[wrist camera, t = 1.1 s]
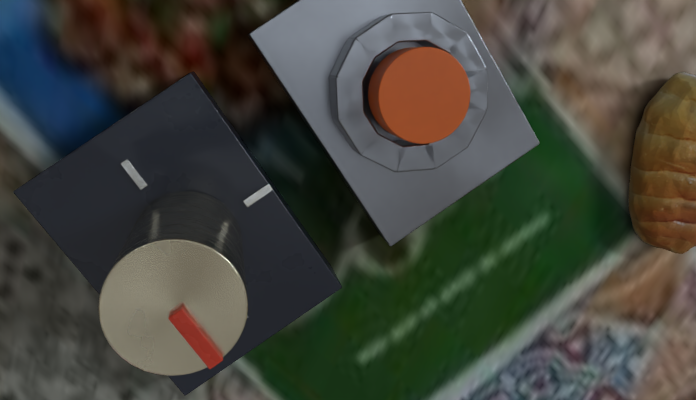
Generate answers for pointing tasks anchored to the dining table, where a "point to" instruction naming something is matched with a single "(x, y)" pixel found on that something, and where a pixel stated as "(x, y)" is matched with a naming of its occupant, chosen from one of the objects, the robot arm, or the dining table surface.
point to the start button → (419, 94)
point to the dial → (177, 287)
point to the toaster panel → (172, 176)
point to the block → (357, 119)
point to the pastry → (666, 168)
